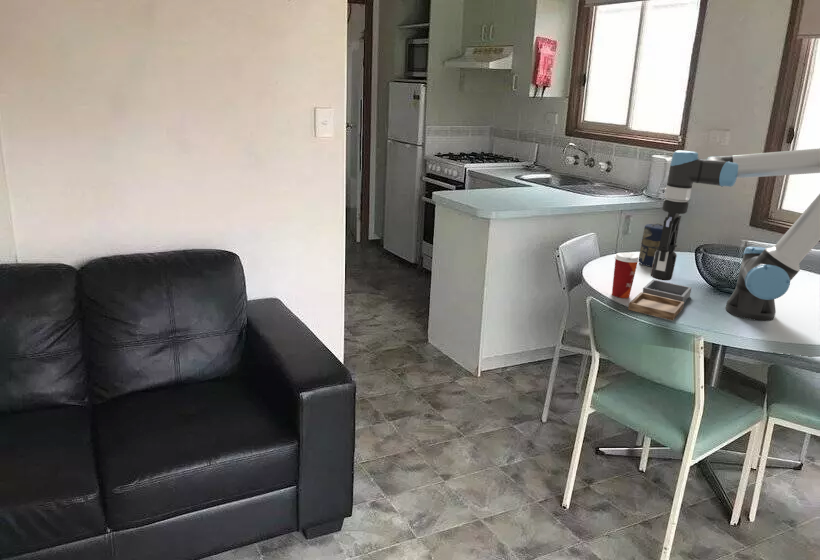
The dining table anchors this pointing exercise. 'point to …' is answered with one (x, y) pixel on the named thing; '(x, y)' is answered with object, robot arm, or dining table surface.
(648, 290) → the holder box
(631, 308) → the tray
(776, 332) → the dining table surface
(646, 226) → the canister
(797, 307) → the dining table surface
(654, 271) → the supplement bottle
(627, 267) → the coffee cup
